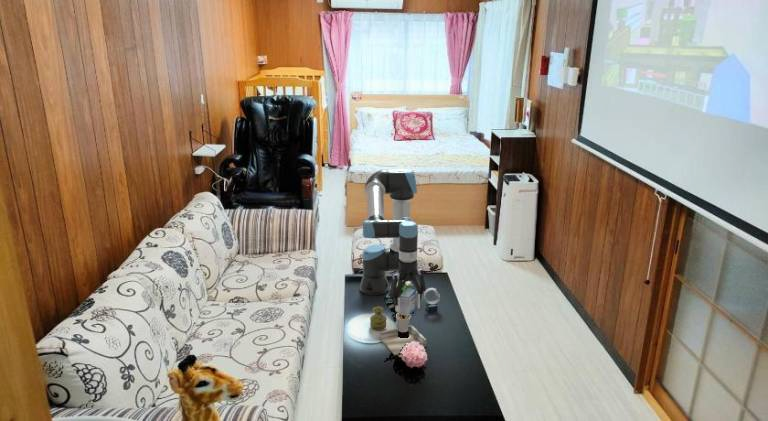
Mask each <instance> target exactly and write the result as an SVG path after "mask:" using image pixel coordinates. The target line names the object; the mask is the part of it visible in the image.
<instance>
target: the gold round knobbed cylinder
mask: <svg viewBox="0 0 768 421" xmlns="http://www.w3.org/2000/svg"><path fill="white" fill-rule="evenodd" d="M384 310H385V308H384V307H382V306H379V305H378V306H374V307H373V308H372V312H374V314H373V315H371V316H370V318H369V320H370V322H369V326H370V329H371V330H373V331H380V332H381V331H385V329H386V328H387V320H388V319H387V316H386V315H384V314H383V312H384Z"/></svg>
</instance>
